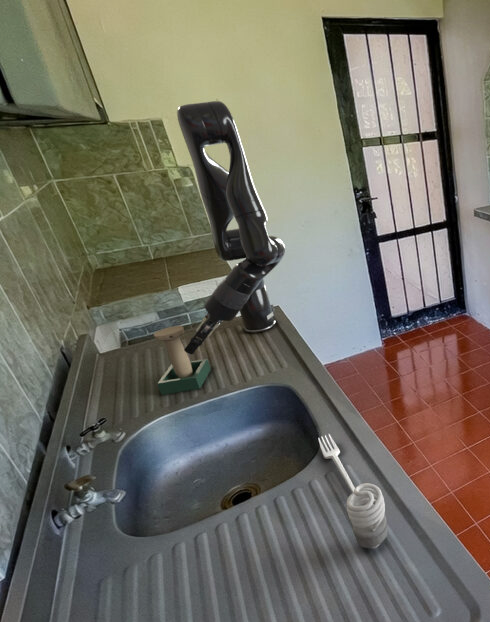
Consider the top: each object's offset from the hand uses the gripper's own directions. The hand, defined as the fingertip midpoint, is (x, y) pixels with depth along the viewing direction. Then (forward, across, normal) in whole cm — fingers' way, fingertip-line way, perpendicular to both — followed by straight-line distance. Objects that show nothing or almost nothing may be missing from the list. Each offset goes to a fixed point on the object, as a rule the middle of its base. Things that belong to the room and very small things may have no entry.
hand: (193, 344), depth 119 cm
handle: (+10, 0, +4) cm, 11 cm away
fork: (-19, +46, +34) cm, 60 cm away
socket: (+11, 0, +4) cm, 12 cm away
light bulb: (-23, +66, +39) cm, 80 cm away
